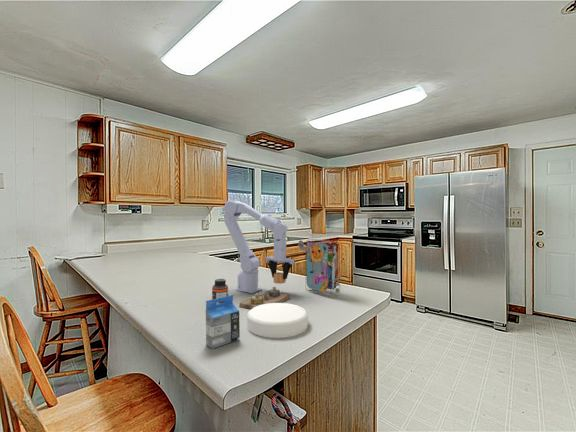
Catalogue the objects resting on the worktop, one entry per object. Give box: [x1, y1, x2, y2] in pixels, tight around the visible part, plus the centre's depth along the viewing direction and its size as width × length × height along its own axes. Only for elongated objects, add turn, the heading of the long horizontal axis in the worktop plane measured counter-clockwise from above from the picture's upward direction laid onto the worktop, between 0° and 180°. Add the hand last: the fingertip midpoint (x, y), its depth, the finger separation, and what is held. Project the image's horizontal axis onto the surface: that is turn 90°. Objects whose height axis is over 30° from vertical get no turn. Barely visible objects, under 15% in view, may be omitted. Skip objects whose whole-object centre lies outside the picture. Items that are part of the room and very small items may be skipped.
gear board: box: [239, 286, 291, 310], centre depth 117 cm, size 11×20×5 cm, turn 149°
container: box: [246, 302, 309, 339], centre depth 94 cm, size 20×20×5 cm
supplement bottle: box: [211, 278, 229, 305], centre depth 109 cm, size 6×6×11 cm
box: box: [297, 238, 341, 299], centre depth 134 cm, size 25×6×24 cm, turn 39°
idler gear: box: [273, 272, 287, 285], centre depth 132 cm, size 6×6×4 cm
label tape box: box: [205, 294, 241, 350], centre depth 81 cm, size 9×4×12 cm, turn 133°
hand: (279, 278), depth 132 cm, fingers closed on idler gear, 5 cm apart
